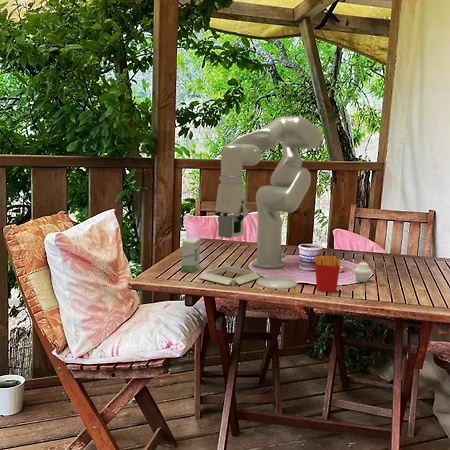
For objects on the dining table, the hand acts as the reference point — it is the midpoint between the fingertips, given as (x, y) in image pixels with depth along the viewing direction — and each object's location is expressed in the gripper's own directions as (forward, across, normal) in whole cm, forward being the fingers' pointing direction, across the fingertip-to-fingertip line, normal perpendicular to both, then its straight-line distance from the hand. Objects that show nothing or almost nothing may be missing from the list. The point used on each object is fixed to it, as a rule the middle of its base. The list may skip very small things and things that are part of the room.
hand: (230, 231), depth 190 cm
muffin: (+18, +38, +29) cm, 51 cm away
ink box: (+17, -18, -1) cm, 25 cm away
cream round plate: (+17, +17, +5) cm, 25 cm away
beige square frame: (+17, 0, 0) cm, 17 cm away
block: (+2, 0, 0) cm, 2 cm away
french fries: (+17, +34, +9) cm, 39 cm away
